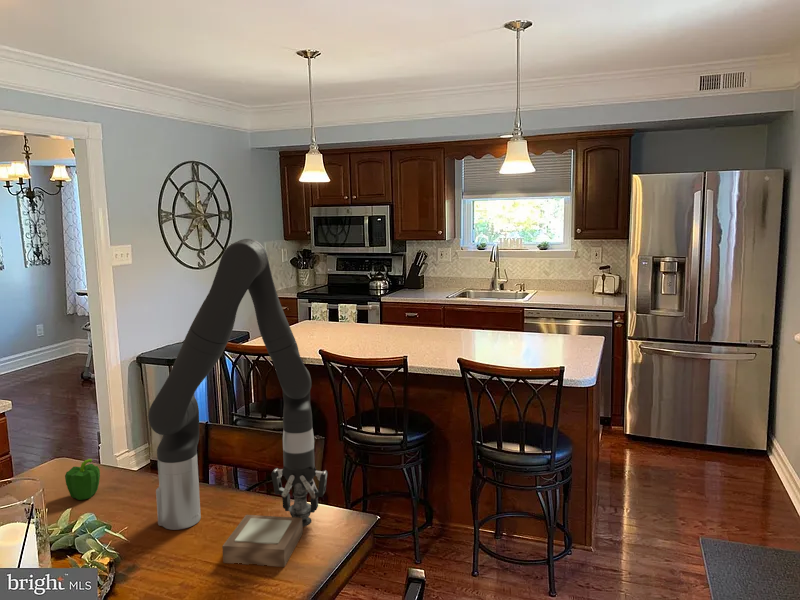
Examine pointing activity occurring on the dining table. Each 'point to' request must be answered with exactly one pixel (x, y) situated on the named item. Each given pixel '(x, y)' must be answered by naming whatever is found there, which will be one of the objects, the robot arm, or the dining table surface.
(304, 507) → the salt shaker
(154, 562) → the dining table surface
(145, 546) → the dining table surface
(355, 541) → the dining table surface
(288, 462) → the robot arm
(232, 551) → the base block
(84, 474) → the bell pepper
